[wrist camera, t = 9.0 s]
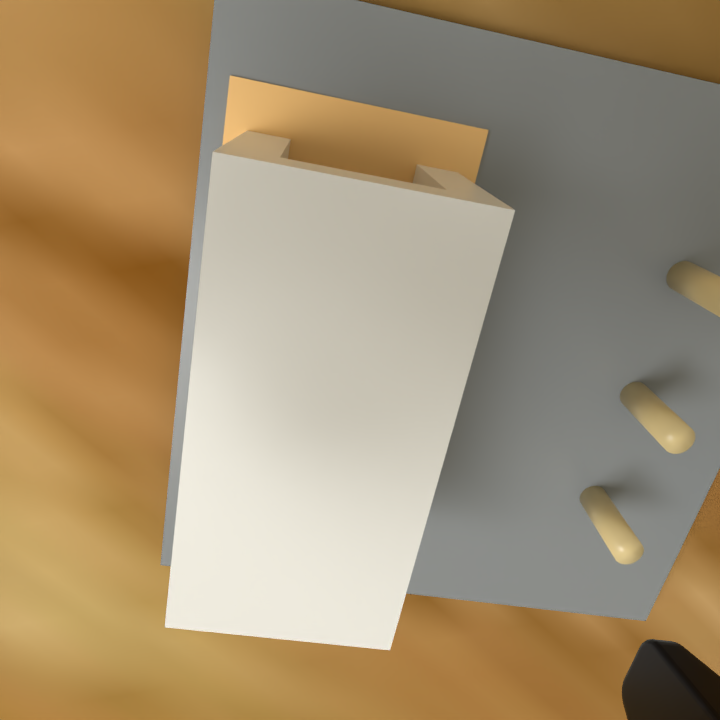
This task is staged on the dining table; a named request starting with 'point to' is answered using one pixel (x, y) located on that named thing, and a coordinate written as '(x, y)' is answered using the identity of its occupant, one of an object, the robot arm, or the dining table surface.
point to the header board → (520, 281)
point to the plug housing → (323, 389)
